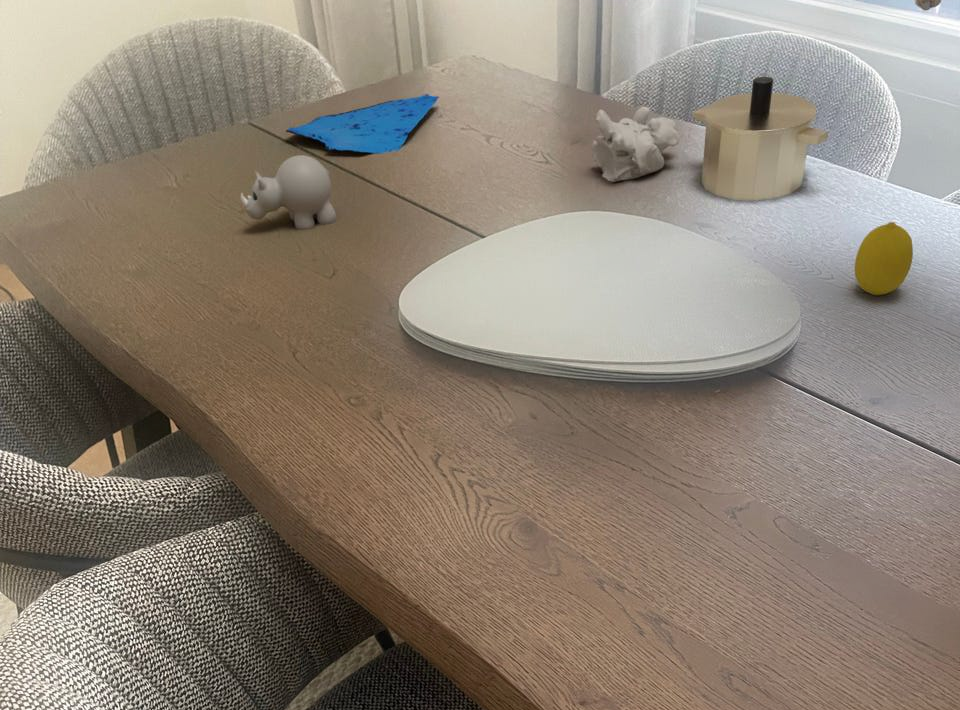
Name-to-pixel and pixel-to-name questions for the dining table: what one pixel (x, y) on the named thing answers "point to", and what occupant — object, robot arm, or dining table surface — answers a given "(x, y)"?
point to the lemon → (884, 259)
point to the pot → (755, 161)
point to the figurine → (632, 144)
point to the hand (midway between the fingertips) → (951, 22)
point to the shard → (369, 126)
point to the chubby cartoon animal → (294, 193)
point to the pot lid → (760, 111)
